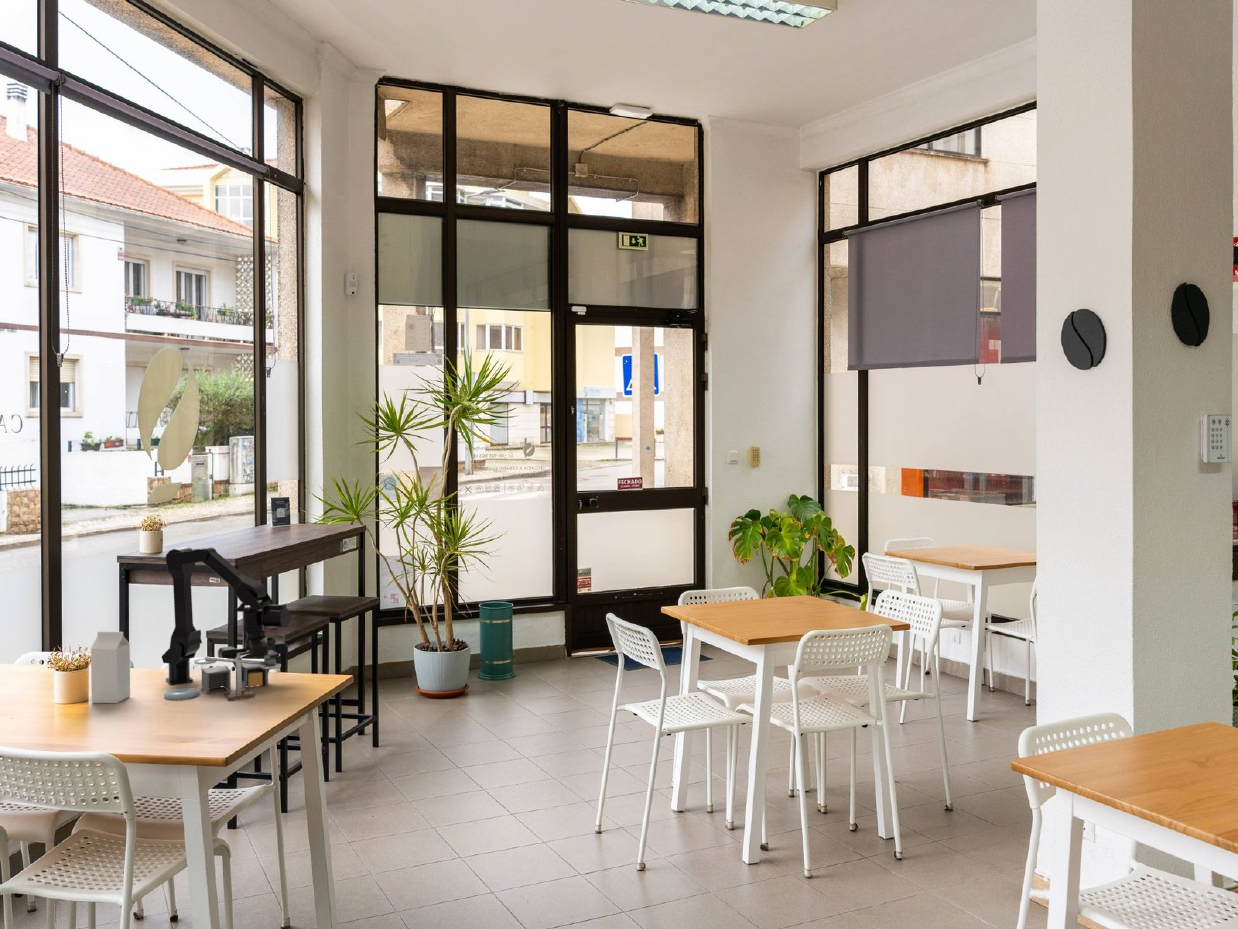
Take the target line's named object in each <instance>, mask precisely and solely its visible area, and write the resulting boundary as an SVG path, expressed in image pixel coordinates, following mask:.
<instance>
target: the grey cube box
mask: <svg viewBox="0 0 1238 929" xmlns="http://www.w3.org/2000/svg"><path fill="white" fill-rule="evenodd" d="M231 672H232V671H231V669H230V668H228V667H227V666H225V665H221V666H214V667H213V666H212V667H206V668H201V690H202V691H203V692H204V691H205V692H206V693H207V694H206V695H210V689H209V688H211V689H216V687H219V688H222V687H221V686H224V687H225V688H224V687H223V688H224V689H226V688H227V689H228V690H229V691H228V690H227V689H226V690H227V691H228V692H231V691H232V690H231V686H232V685H231V684H232V683H231V679H232V678H231V674H232V673H231ZM230 690H231V691H230ZM205 692H204V693H205Z"/></svg>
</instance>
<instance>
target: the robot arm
mask: <svg viewBox="0 0 1238 929" xmlns="http://www.w3.org/2000/svg"><path fill="white" fill-rule="evenodd" d="M200 562H202V563H203V564H204V565H206V566H207V567H208V568H209V569H210V570H211V571H212V572H214V573H215V574H216V575H217V576H219V577H220V578H221V580H223V581H224V582H225V583H227V584H228V585H229V586H230V587H231V588H232V590H233V593H234V594H235V596H236V597H237V598H238V600H239V601H240V602H241V603H240V605H239V606H237V608H236V609H235V612H242V629H241V631H242V645H241V646H242V648H235V647H234V646H225V647H220V648H218V650H217V658H226V659H238V660H243V659H242V658H241V656H244V655H245V656H246V655H250V656H251V657H253V658H257V657H260V656H263V662H265V660H266V659H269V658H275V659H276V658H278V657H280V655H282V654H288V653H289V644H287V643H286V642H284V641H283V640H276V638H275V636H272V637H270V636H269V637H266V635H265V634H266V633H265V630H264V629H265V628H276V629H277V628H279V629H280V628H281V629H286V628H287V627H288V626H289V624H290V622H291V621H290V620H291V614H290V612H289V609H288V608H287V604H286V603H282V604H275V602H274V600H273V599H272V598H271V596H270V595H269V593H268V592H267V587H266V585H264V584H263V583H262V582H259V581H258V580H256V579H255V578H252V577H249V576H246V575H245V574H243V573H242V572H241V571H240V570H239V569H237V568H236V567H235V566H234V565H232V563H230V561H228V560H227V559H226V558H224V557H223V556H222V555H221V554H220V553H218V552H217V550H216V549H215V547H212V546H209V547H208V546H207V547H203V548H196V549H192V548H191V547H189V546H185V547H179V548H174V549H173V548H172V549H171V550H168V552H167V553H166V555H165V564H166V570H167V572H168V573H169V575H170V577H171V578H172V582H173V583H172V584H173V585H172V587H173V589H172V590H173V606H174V608H173V609H174V629H173V632H172V634H171V636H170V642H169V647H168V649H167V650H166V651H165V652H164V653H163V654H162V655H161V660H162V662H163V663H164V664H168V677H166V678H165V681H166V682H167V683H168V684H169V685H174V684H175V685H176V684H182V683H191V682H194V679H193V677H191V676H190V675H191V674H190V673H191V672H190V670H191V669H190V668H191V667H190V666H191V665H190V659H194V658H195V656H196V654H197V652H198V651H199V650H200V648H201V645H202V644H203V642H202V631H201V629H198V630H197V629H196V627H195V626H194V618H193V617H194V616H193V597H192V579H191V578H192V575H193V572H194V570H195V568H196V563H200ZM232 664H233V666H234V667H235V669H236V663H234V662H232ZM270 670H271V669H268V674H269V672H270ZM241 672H242V681H243V670H242V663H241Z"/></svg>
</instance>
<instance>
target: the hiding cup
mask: <svg viewBox="0 0 1238 929" xmlns="http://www.w3.org/2000/svg"><path fill="white" fill-rule="evenodd" d="M260 666H261V665H260V664H247V663H242V670H243V681H242V687H243V688H244V689H245V688H247V689H248V687H247V671H252V670H260V671H261V672H263V685H265V686H267V685H268V686H269V673H268V669H261V668H260Z"/></svg>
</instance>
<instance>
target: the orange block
mask: <svg viewBox="0 0 1238 929" xmlns="http://www.w3.org/2000/svg"><path fill="white" fill-rule="evenodd" d="M257 685H264V684H263V672H261V671H260V670H252V671H247V686H248V687H247V688H252V687H251V686H256V687H258V686H257Z"/></svg>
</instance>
